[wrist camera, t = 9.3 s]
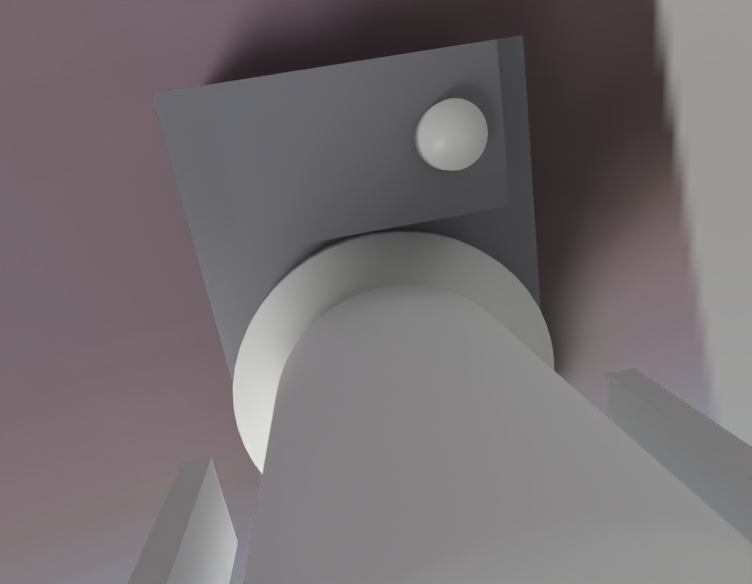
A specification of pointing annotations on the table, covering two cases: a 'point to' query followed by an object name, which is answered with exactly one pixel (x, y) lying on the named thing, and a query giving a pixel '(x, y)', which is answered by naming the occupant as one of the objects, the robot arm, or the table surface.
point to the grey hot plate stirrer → (355, 198)
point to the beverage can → (462, 464)
